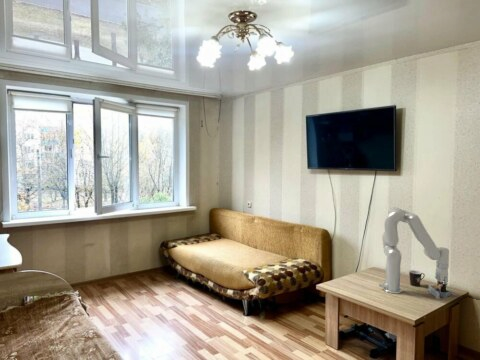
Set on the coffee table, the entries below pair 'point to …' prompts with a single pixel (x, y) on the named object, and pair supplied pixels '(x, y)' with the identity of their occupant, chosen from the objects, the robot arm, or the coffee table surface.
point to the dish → (443, 293)
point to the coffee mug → (415, 277)
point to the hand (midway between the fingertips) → (441, 290)
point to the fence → (434, 292)
